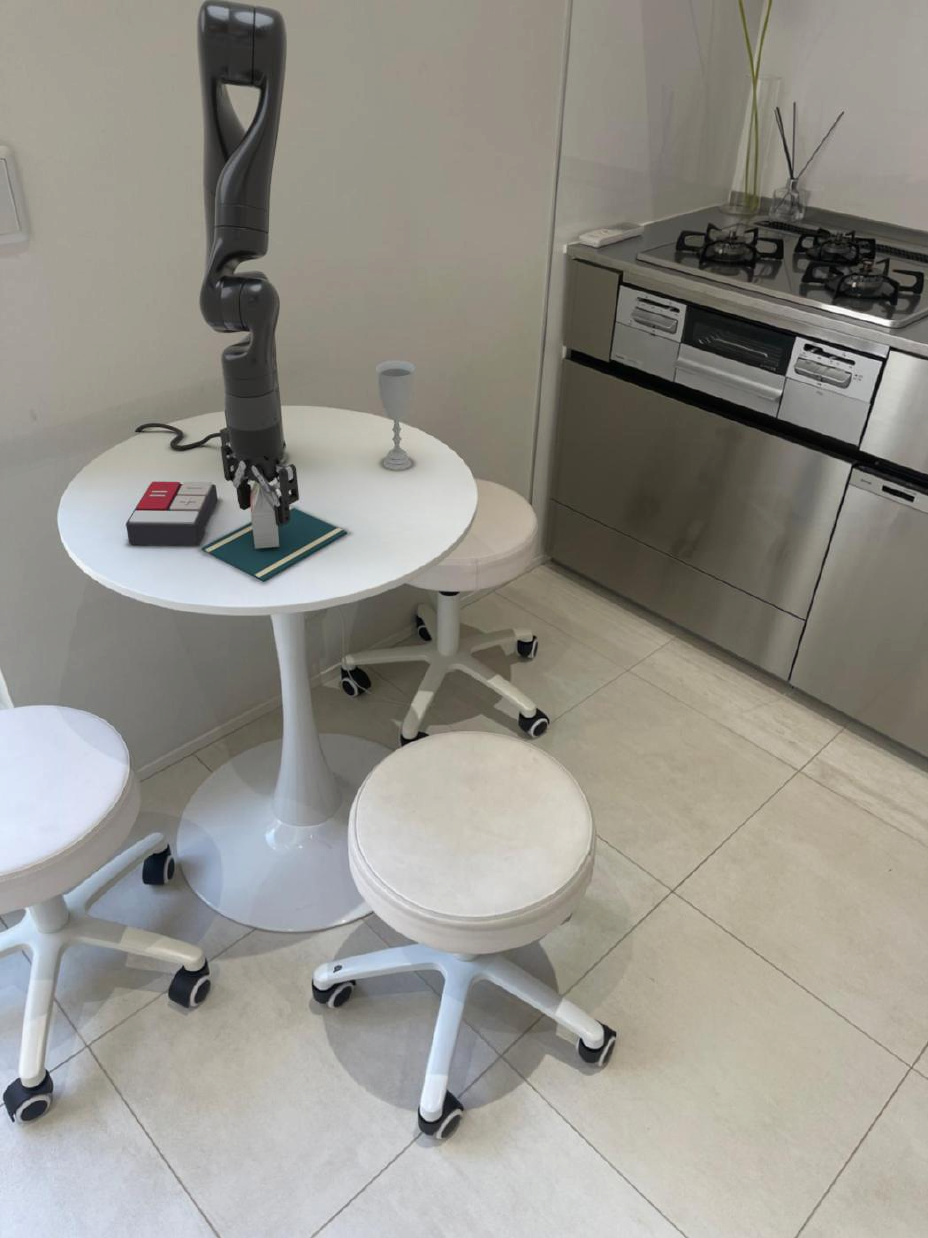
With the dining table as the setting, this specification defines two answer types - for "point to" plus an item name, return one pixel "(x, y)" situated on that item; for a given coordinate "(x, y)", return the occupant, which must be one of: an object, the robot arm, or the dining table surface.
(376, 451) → the dining table surface
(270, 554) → the cloth
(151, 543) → the calculator
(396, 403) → the chalice
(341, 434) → the dining table surface
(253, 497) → the white gable top carton
